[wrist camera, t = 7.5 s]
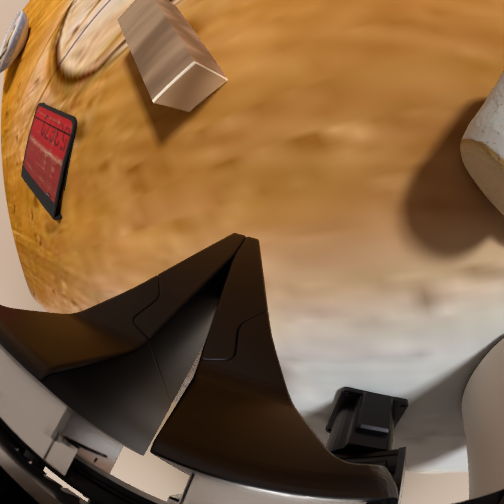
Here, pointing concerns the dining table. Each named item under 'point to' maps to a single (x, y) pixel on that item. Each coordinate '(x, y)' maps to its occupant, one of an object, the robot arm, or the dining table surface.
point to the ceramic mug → (487, 147)
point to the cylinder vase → (485, 424)
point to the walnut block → (169, 54)
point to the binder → (49, 155)
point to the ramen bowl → (14, 40)
